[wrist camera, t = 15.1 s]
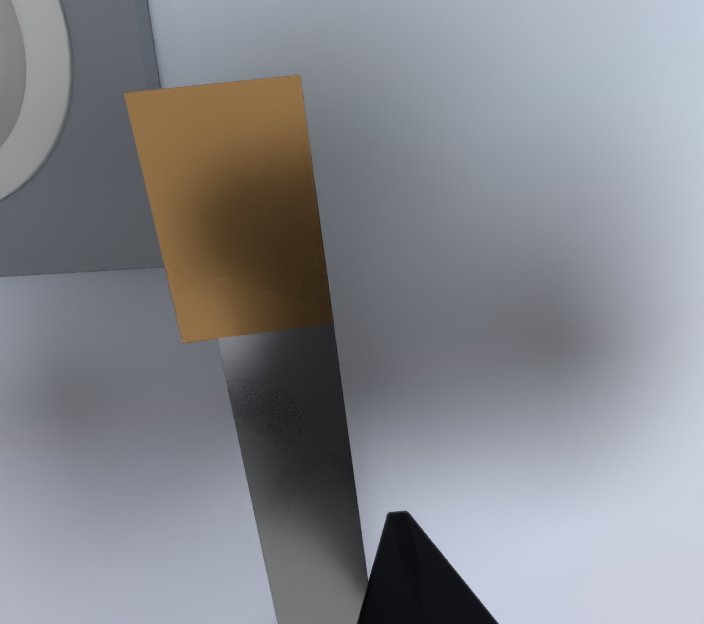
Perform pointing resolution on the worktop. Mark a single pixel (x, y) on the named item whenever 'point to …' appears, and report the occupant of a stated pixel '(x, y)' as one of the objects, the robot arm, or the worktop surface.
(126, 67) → the socket
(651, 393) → the worktop surface
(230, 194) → the bar
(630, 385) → the worktop surface
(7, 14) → the plug
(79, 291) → the worktop surface
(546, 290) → the worktop surface
